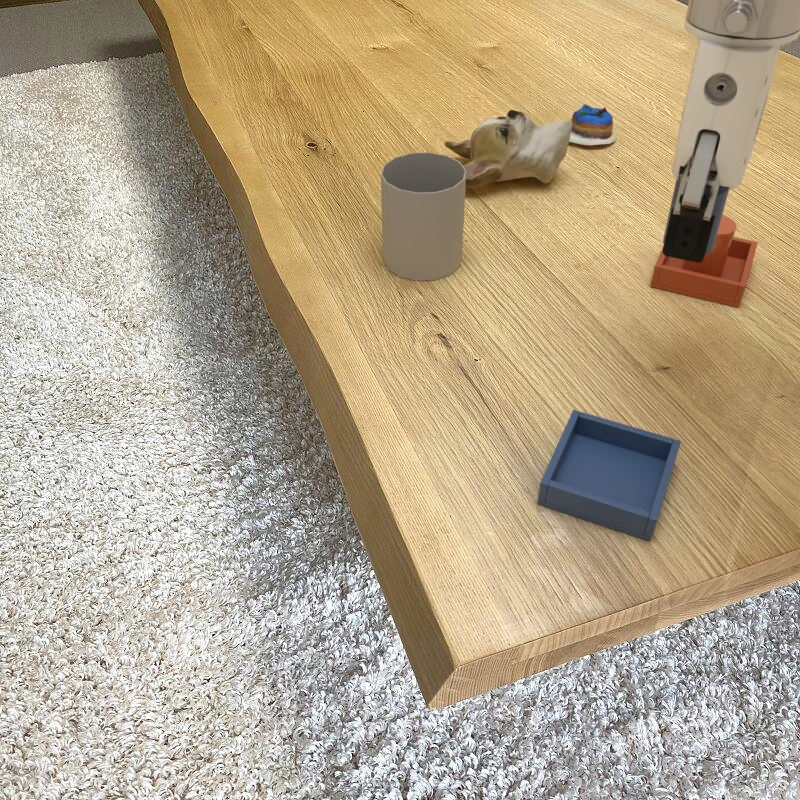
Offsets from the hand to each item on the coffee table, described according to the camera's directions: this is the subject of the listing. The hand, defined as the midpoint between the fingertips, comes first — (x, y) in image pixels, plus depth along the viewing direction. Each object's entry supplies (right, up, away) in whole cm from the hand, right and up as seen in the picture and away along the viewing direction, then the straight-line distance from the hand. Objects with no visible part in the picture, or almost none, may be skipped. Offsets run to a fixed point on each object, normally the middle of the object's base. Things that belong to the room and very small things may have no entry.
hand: (688, 240), depth 68 cm
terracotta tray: (+8, 0, +18) cm, 20 cm away
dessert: (+1, +22, +41) cm, 47 cm away
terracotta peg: (+8, 0, +18) cm, 19 cm away
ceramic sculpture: (-11, +14, +33) cm, 38 cm away
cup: (-21, +2, +21) cm, 30 cm away
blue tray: (-7, -19, -3) cm, 21 cm away
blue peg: (0, 0, 0) cm, 0 cm away
